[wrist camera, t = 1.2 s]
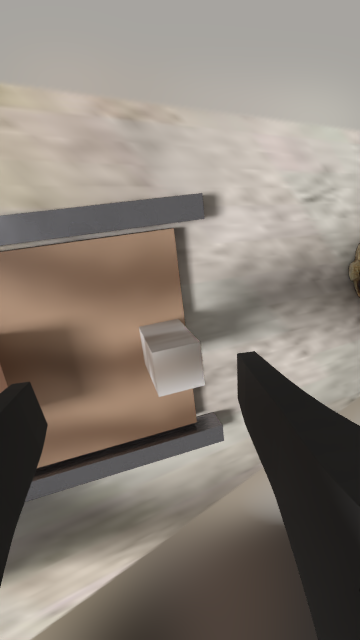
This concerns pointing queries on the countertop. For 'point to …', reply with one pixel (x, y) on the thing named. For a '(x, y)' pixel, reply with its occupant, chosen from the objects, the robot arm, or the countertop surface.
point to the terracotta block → (2, 381)
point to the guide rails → (96, 221)
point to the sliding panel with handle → (99, 339)
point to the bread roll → (355, 271)
